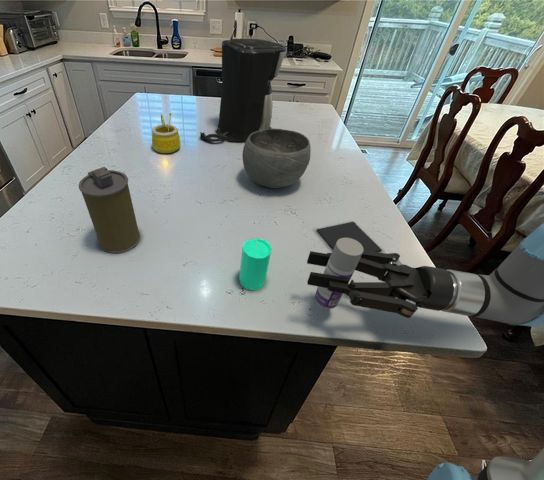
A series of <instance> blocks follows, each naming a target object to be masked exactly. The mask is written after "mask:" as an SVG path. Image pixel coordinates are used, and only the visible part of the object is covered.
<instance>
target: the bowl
mask: <svg viewBox="0 0 544 480" xmlns="http://www.w3.org/2000/svg"><path fill="white" fill-rule="evenodd" d="M311 152H312V151H311V142H310V139H309V138H308V137H307V136H305V135H304V134H303V133H301V132H298V131H294V130H288V129H283V128H272V129H264V130H259V131H256V132H253V133H251V134H250V135H249V137H248V138H247V140H246V141H245V142H244V145H243V149H242V157H241V158H242V164H243V168H244V170H245V172H246V173H247V175H248V177H249V178H250V179H251V180H252V181H253V182H254V183H256V184H258V185H260V186H262V187H266V188H272V189H278V188H285V187H288V186H290V185H293V184H295V182H297V181H298V180H299V179H300V178H301V177H303V175H304V174H305V172H306V170H307V168H308V166H309V165H310V161H311Z"/></svg>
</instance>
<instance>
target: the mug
mask: <svg viewBox="0 0 544 480" xmlns="http://www.w3.org/2000/svg"><path fill="white" fill-rule="evenodd" d="M171 116H172V112H170V113H169V119H168V124H167V123H166V122H165V117H164V114H160V120H161V124H158V125H155V126H154V127H153V128H152V129H151V133H152V134H151V145H152V148H153V150H154V151H156V152H157V153H161V154H172V153H175V152H176V151H178V150H179V149H180V147H181V138H180V134H179V129H178V127H177V126H176V125H173V124H170V122H171Z"/></svg>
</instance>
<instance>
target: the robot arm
mask: <svg viewBox="0 0 544 480" xmlns="http://www.w3.org/2000/svg"><path fill="white" fill-rule="evenodd" d="M331 254H332V252H326V253H324V252H317V251H312V250H310V251H309V253H308V257H307V260H306V264H307V265H312V266H319V267H325V268H326V265H327V263H328V260H329V258H330V256H331ZM400 257H401V255H400V254H399V253H397V252H389V253H385V252H381V251H380V252H373V251H367V250H363V253H362V255H361V257H360V260H359V262H358V264H357V266H356V268H355V271H357V272H359V273H362V274H365V275H369V276H371V277H374V278H375V277H376V278H377V280H378V281H368V282H367V281H363V282H361V281H359V282H358V281H357V282H355V281H354V279H350V281H349V279H348V278H345V277H339V276H333V275H327V274H323V273H320V272H315V271H310V273H309V275H308V279H307V281H306V282H307V284H306V285H308V286H313V287H317V288H318V287H324V288H327V289H328V290H329V291H332V292H337V293H343V295H346V296H347V297H348V298H349V300H350V301H349V303H350V304H351V305H352V306H355V307H360V308H365V309H370V310H371V309H372V310H376V311H382V312H388V313H393V314H396V315H399V316H401V317H403V318H406V319H411V318H412V317H413V315H414V314H415V313H416V312H417V311H418V309H425V310H430V311H436V312H439V311H441V312H444V313H448V314H454V315H459V316H460V315H461V316H466V317H467V316H468V317H471V318H472V317H473V318H478V319H482V320H487V321H493V322H498V323H503V324H506V325H510V326H523V327H524V326H525V327H531V328H532V327H535V328H536V327H537V328H538V327H542V326H544V222H543V223H541V225H539V226H538V227H537V228H535V229H534V230H533V231H532V232H531V233H529V234H528V235H527V236H526V237H525V238H523V239H522V240H521V241H520V242H519V244H518V245H517V247H515V248H514V250H512V252H511V253H510V254H509V255H507V257H506V258H505V259H504V260H503V261H502V262H501V263H500V264H499V266H498V267H496V268H495V269H494V270H493V271H492V272H491V273H490V274H489V275H486V274H479V273H473V272H472V273H471V272H467V271H461V270H455V269H445V268H442V267H441V268H440V267H434V266H429V265H422V266H417V267H411V266H410V265H408V264H403V263H402V262H401V260H400ZM348 282H349V283H348ZM426 480H544V447H543V448H542V449H541V450H540V451H539V452H538V453H537V454H536V455H535V456H534V457H533V458H532V459H531V460H526V459H522V458H518V457H513V456H506V455H498V456H496V457H493V458H492V459H490V461H489V462H488V463H486V465H485V466H484V467H483V468H482V469H481V471H480V472H478V474H477V475H472V474H471V473H470V472H469V471H468V470H467V469H466V468H464V467H463V466H462V465H456V463H455V464H454V463H452V462H443V463H439V464H437V465H436V466H435V467H434V469H432V471H431V472H430V473H429V475H428V477H427V479H426Z"/></svg>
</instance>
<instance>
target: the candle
mask: <svg viewBox="0 0 544 480" xmlns="http://www.w3.org/2000/svg"><path fill="white" fill-rule="evenodd" d="M271 254H272V247H271V244H270V243H269V242H268V241H266V239H263V238H259V237H257V238H252V239H249V240H246V241H245V240H244V243H243V244H242V248H241V257H240V266H239V267H240V268H239V277H238V279H239V284H240V285H241V286H242V287H243V288H244V289H247V290H248V291H258V290H260V289H262V288H263V287H264V285H265V283H266V279H267V274H268V269H269V263H270V259H271Z"/></svg>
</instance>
